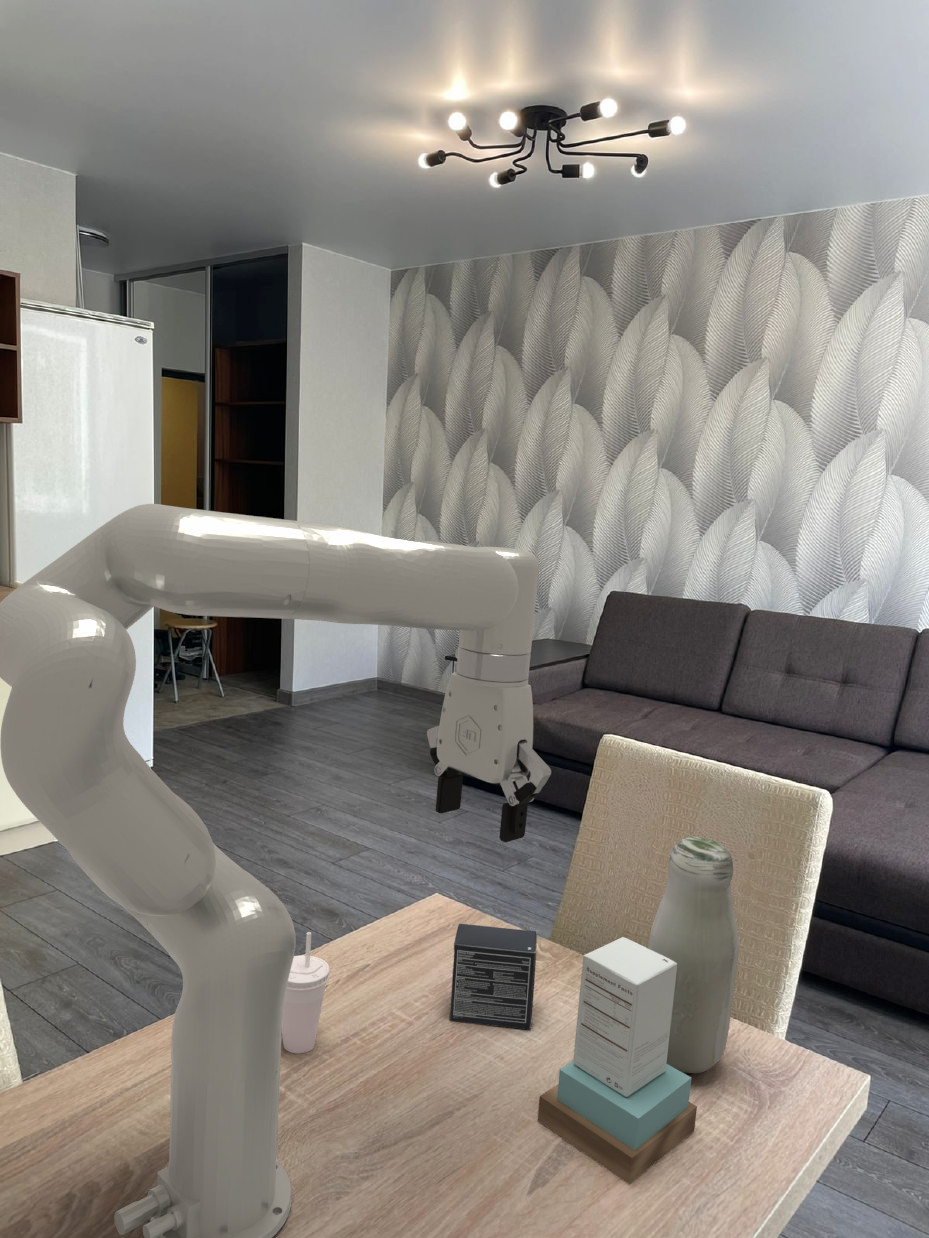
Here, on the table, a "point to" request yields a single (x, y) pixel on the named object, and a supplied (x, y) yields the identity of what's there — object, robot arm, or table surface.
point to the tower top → (625, 1103)
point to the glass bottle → (698, 951)
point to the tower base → (608, 1147)
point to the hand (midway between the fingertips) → (478, 824)
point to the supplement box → (624, 1015)
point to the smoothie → (303, 1001)
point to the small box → (493, 976)
